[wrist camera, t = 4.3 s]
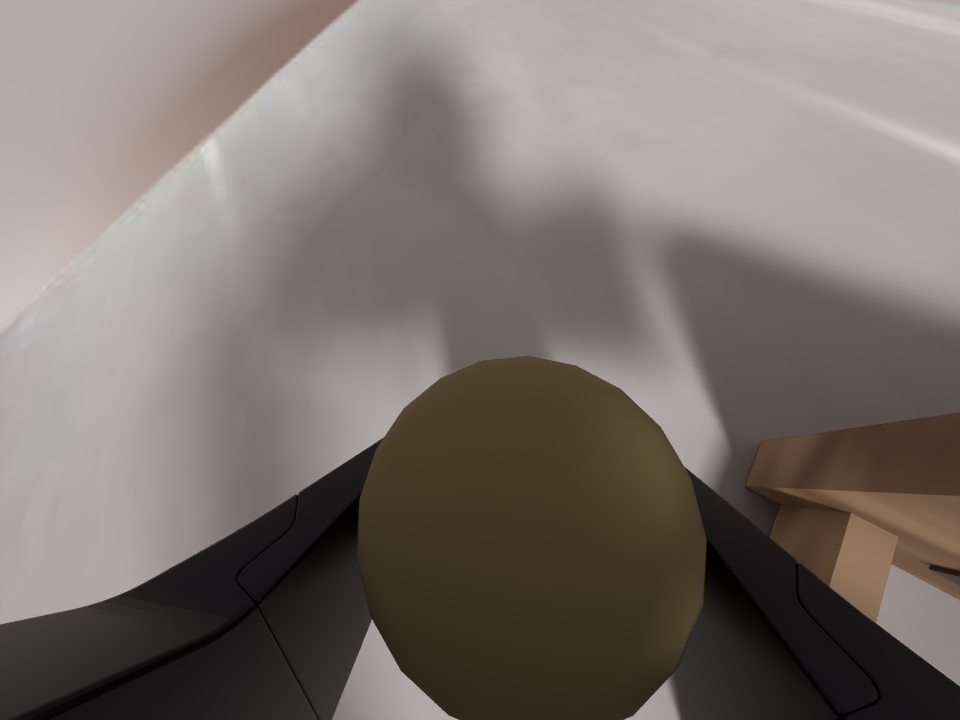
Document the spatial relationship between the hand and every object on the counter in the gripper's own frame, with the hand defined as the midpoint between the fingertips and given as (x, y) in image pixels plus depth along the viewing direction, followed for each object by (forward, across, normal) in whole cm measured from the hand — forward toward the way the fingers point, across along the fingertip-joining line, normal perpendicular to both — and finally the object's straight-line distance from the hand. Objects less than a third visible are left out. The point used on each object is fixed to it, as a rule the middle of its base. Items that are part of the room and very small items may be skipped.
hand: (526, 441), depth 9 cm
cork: (+4, 0, +6) cm, 7 cm away
